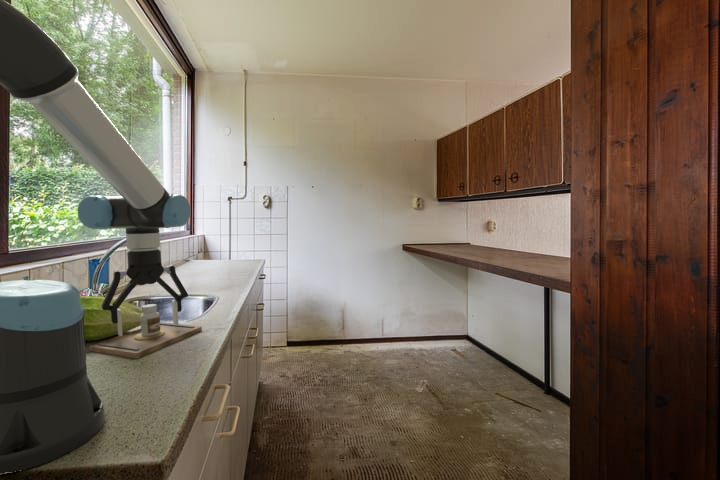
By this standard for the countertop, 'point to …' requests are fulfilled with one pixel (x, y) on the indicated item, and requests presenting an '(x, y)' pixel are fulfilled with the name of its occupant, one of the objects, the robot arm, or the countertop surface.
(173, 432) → the countertop surface
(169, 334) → the cutting board
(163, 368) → the countertop surface
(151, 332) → the pill bottle
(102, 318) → the green papaya
